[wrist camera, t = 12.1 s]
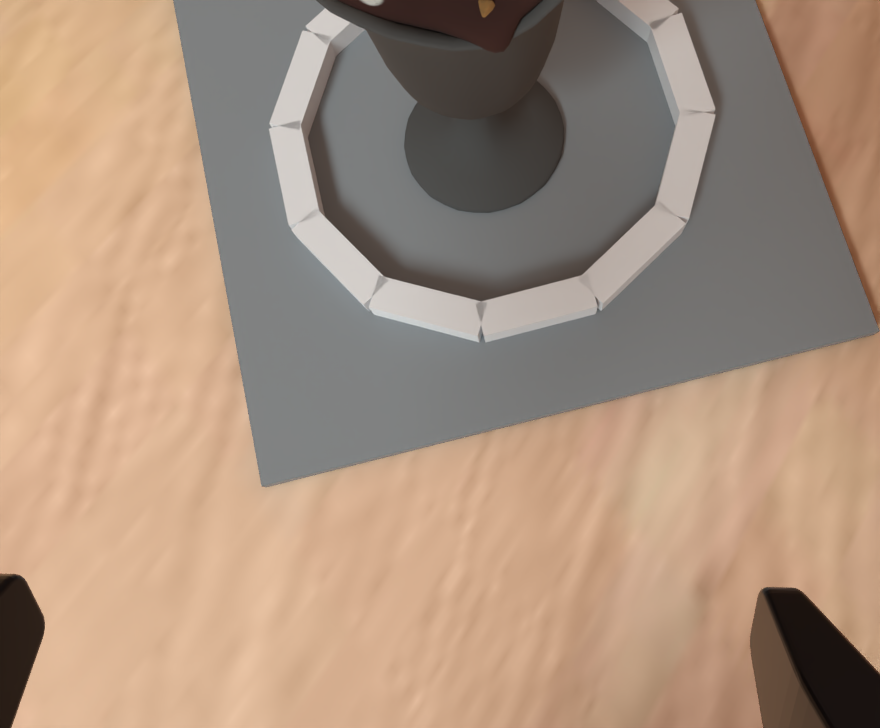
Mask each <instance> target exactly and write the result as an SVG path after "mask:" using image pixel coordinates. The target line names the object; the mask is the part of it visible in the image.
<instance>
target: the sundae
mask: <svg viewBox="0 0 880 728" xmlns="http://www.w3.org/2000/svg"><path fill="white" fill-rule="evenodd" d="M316 1H317V2H318V3H320V4H321V5H322V6H323V7H325V8H326V9H327V10H328V11H329V12H331V13H332V14H334V15H336V16H338V17H340V18H342V19H344V20H346V21H348V22H350V23H352V24H354V25H356V26H358V27H361V28H363V29H365V30H366V31H367V33H368V34H369V36H370V38H371V40H372V41H373V43H374V45H375V47H376V48H377V50H378V52H379V54H380V56H381V57H382V59H383V61H384V63H385V64H386V66H387V68H388V69H389V70H390V72H391V73H392V74H393V75H394V77H395V78H396V79H397V80H398V82H399V83H400V84H401V85H402V87H403V88H404V89H405V90H406V91H407V92H408V93H409V94H410V95H411V96H412V97H413V98H414V99H415V100H416V101H417V103H416V105H415V107H414V108H413V110H412V112H411V114H410V116H409V118H408V122H407V126H406V131H405V140H404V150H405V154H406V159H407V163H408V166H409V168H410V171H411V174H412V176H413V177H414V178H415V180H416V181H417V182H418V184H419V185H420V186H421V188H422V189H423V190H424V191H425V192H426V193H427V194H428V195H429V196H430V197H432V198H433V199H435V200H437V201H439V202H440V203H442V204H444V205H446V206H449V207H451V208H453V209H456V210H458V211H466V212H473V213H491V212H496V211H500V210H504V209H507V208H510V207H513V206H515V205H518V204H521V203H522V202H524V201H525V200H527V199H528V198H530V197H531V196H533V195H534V194H535V193H536V192H537V191H539V190H540V189H541V188H542V187H543V186H544V185H545V184H546V183H547V182H548V180H549V179H550V177H551V176H552V174H553V173H554V171H555V169H556V167H557V165H558V163H559V161H560V159H561V156H562V151H563V145H564V124H563V120H562V117H561V113H560V111H559V108H558V106H557V104H556V101H555V100H554V98H553V97H552V96H551V95H550V93H549V92H548V91H547V90H546V89H545V88H544V87H543V86H542V85H541V84H540V83H539V82H538V81H537V79H538V77H539V75H540V73H541V71H542V69H543V67H544V65H545V63H546V60H547V58H548V55H549V53H550V51H551V48H552V46H553V43H554V41H555V37H556V33H557V29H558V25H559V21H560V16H561V12H562V8H563V4H564V0H316Z"/></svg>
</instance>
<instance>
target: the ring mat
mask: <svg viewBox="0 0 880 728" xmlns="http://www.w3.org/2000/svg"><path fill="white" fill-rule="evenodd" d="M173 1H174V6H175V12H176V17H177V23H178V28H179V34H180V39H181V45H182V50H183V56H184V61H185V67H186V72H187V78H188V83H189V89H190V94H191V100H192V105H193V111H194V116H195V122H196V127H197V133H198V138H199V144H200V149H201V155H202V160H203V166H204V171H205V177H206V183H207V188H208V194H209V199H210V205H211V210H212V216H213V221H214V227H215V232H216V238H217V243H218V249H219V254H220V260H221V265H222V271H223V276H224V282H225V287H226V293H227V298H228V304H229V309H230V315H231V320H232V326H233V331H234V337H235V342H236V348H237V353H238V359H239V364H240V370H241V375H242V381H243V386H244V392H245V397H246V403H247V408H248V414H249V419H250V425H251V430H252V436H253V441H254V447H255V452H256V458H257V463H258V469H259V474H260V480H261V485H262V486H263V487H269V486H273V485H277V484H281V483H285V482H289V481H293V480H297V479H301V478H305V477H309V476H312V475H316V474H320V473H324V472H328V471H332V470H336V469H340V468H344V467H348V466H352V465H356V464H360V463H364V462H368V461H372V460H376V459H380V458H384V457H388V456H392V455H396V454H400V453H404V452H408V451H412V450H416V449H420V448H424V447H428V446H432V445H436V444H440V443H444V442H448V441H452V440H456V439H460V438H464V437H468V436H472V435H476V434H480V433H484V432H488V431H492V430H496V429H500V428H504V427H508V426H512V425H516V424H520V423H524V422H527V421H531V420H535V419H539V418H543V417H547V416H551V415H555V414H559V413H563V412H567V411H571V410H575V409H579V408H583V407H587V406H591V405H595V404H599V403H603V402H607V401H611V400H615V399H619V398H623V397H627V396H631V395H635V394H639V393H643V392H647V391H651V390H655V389H659V388H663V387H667V386H671V385H675V384H679V383H683V382H687V381H691V380H695V379H699V378H703V377H707V376H711V375H715V374H719V373H723V372H727V371H731V370H735V369H739V368H742V367H746V366H750V365H754V364H758V363H762V362H766V361H770V360H774V359H778V358H782V357H786V356H790V355H794V354H798V353H802V352H806V351H810V350H814V349H818V348H822V347H826V346H830V345H834V344H838V343H842V342H846V341H850V340H854V339H858V338H862V337H866V336H870V335H874V334H875V333H877V332H879V328H878V326H877V323H876V320H875V318H874V315H873V312H872V310H871V307H870V304H869V302H868V299H867V296H866V294H865V291H864V288H863V286H862V283H861V280H860V278H859V275H858V272H857V270H856V267H855V264H854V262H853V259H852V256H851V254H850V251H849V248H848V246H847V243H846V240H845V238H844V235H843V232H842V230H841V227H840V224H839V222H838V219H837V216H836V214H835V211H834V209H833V206H832V203H831V201H830V198H829V195H828V193H827V190H826V187H825V185H824V182H823V179H822V177H821V174H820V171H819V169H818V166H817V163H816V161H815V158H814V155H813V153H812V150H811V147H810V145H809V142H808V139H807V137H806V134H805V131H804V129H803V126H802V123H801V121H800V118H799V115H798V113H797V110H796V107H795V105H794V102H793V99H792V97H791V94H790V91H789V89H788V86H787V83H786V81H785V78H784V75H783V73H782V70H781V67H780V65H779V62H778V59H777V57H776V54H775V51H774V49H773V46H772V43H771V41H770V38H769V36H768V33H767V30H766V28H765V25H764V22H763V20H762V17H761V14H760V12H759V9H758V6H757V4H756V1H755V0H564V4H563V8H562V12H561V16H560V21H559V25H558V29H557V33H556V37H555V41H554V43H553V46H552V48H551V51H550V53H549V55H548V58H547V60H546V63H545V65H544V67H543V69H542V71H541V73H540V75H539V77H538V79H537V81H538V82H539V83H540V84H541V85H542V86H543V87H544V88H545V89H546V90H547V91H548V92H549V93H550V95H551V96H552V97H553V98H554V100H555V101H556V104H557V106H558V108H559V111H560V113H561V117H562V120H563V124H564V145H563V151H562V156H561V159H560V161H559V163H558V165H557V167H556V169H555V171H554V173H553V174H552V176H551V177H550V179H549V180H548V182H547V183H546V184H545V185H544V186H543V187H542V188H541V189H540V190H539V191H537V192H536V193H535V194H534V195H533V196H531V197H530V198H528V199H527V200H525V201H524V202H522V203H521V204H518V205H515V206H513V207H510V208H507V209H504V210H500V211H496V212H491V213H473V212H466V211H458V210H456V209H453V208H451V207H449V206H446V205H444V204H442V203H440V202H439V201H437V200H435V199H433V198H432V197H430V196H429V195H428V194H427V193H426V192H425V191H424V190H423V189H422V188H421V186H420V185H419V184H418V182H417V181H416V180H415V178H414V177H413V176H412V174H411V171H410V168H409V166H408V163H407V159H406V154H405V150H404V140H405V131H406V126H407V122H408V118H409V116H410V114H411V112H412V110H413V108H414V107H415V105H416V103H417V101H416V100H415V99H414V98H413V97H412V96H411V95H410V94H409V93H408V92H407V91H406V90H405V89H404V88H403V87H402V85H401V84H400V83H399V82H398V80H397V79H396V78H395V77H394V75H393V74H392V73H391V72H390V70H389V69H388V68H387V66H386V64H385V63H384V61H383V59H382V57H381V56H380V54H379V52H378V50H377V48H376V47H375V45H374V43H373V41H372V40H371V38H370V36H369V34H368V33H367V31H366V30H365V29H363V28H361V27H358V26H356V25H354V24H352V23H350V22H348V21H346V20H344V19H342V18H340V17H338V16H336V15H334V14H332V13H331V12H329V11H328V10H327V9H326V8H325V7H323V6H322V5H321V4H320V3H318V2H317V1H316V0H173Z"/></svg>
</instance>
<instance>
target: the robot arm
mask: <svg viewBox="0 0 880 728" xmlns="http://www.w3.org/2000/svg"><path fill="white" fill-rule="evenodd" d="M44 629H45V621H44V616H43V614H42V612H41V610H40V608H39V606H38V604H37V602H36V600H35V598H34V596H33V594H32V592H31V590H30V588H29V586H28V584H27V582H26V580H25V579H24V578H23V577H22V576H20V575H17V574H0V728H11V727H12V724H13V721H14V718H15V716H16V713H17V710H18V707H19V704H20V701H21V699H22V696H23V693H24V690H25V687H26V684H27V681H28V679H29V676H30V673H31V670H32V667H33V664H34V661H35V659H36V656H37V653H38V650H39V647H40V644H41V642H42V639H43V635H44ZM750 649H751V657H752V663H753V669H754V675H755V681H756V687H757V693H758V699H759V705H760V711H761V717H762V723H763V728H880V673H879V672H878V671H877V670H876V669H875V668H874V667H873V666H872V665H871V664H870V663H869V662H868V661H867V660H866V659H865V657H864V656H863V655H862V654H861V653H860V652H859V651H858V650H857V649H856V648H855V647H854V646H853V645H852V644H851V643H850V642H849V641H848V639H847V638H846V637H845V636H844V635H843V634H842V633H841V632H840V631H839V630H838V629H837V628H836V627H835V626H834V625H833V624H832V622H831V621H830V620H829V619H828V618H827V617H826V616H825V615H824V614H823V613H822V612H821V611H820V610H819V609H818V608H817V607H816V606H815V604H814V603H813V602H812V601H811V600H810V599H809V598H808V597H807V596H806V595H805V594H804V593H803V592H802V591H800V590H798V589H796V588H782V587H766V588H763V589H761V591H760V592H759V594H758V598H757V603H756V609H755V614H754V619H753V624H752V629H751V635H750Z"/></svg>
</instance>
